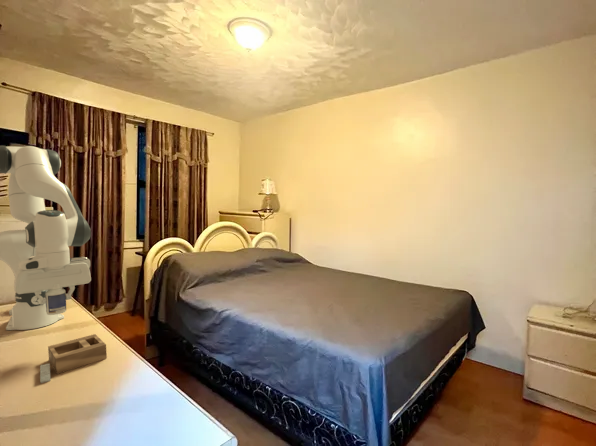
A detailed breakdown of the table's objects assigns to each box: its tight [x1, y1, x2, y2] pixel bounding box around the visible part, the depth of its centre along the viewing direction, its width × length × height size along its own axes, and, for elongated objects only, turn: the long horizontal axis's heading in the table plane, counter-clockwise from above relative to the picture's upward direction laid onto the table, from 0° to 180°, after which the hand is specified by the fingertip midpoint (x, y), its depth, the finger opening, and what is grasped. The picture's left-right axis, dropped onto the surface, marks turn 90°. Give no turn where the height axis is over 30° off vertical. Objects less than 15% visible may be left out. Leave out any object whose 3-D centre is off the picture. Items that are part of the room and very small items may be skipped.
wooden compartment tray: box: [47, 333, 108, 375], centre depth 104 cm, size 12×13×4 cm
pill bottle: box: [45, 284, 67, 315], centre depth 108 cm, size 5×5×10 cm
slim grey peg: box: [39, 362, 52, 384], centre depth 94 cm, size 8×2×2 cm, turn 38°
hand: (55, 301), depth 109 cm, fingers closed on pill bottle, 5 cm apart
